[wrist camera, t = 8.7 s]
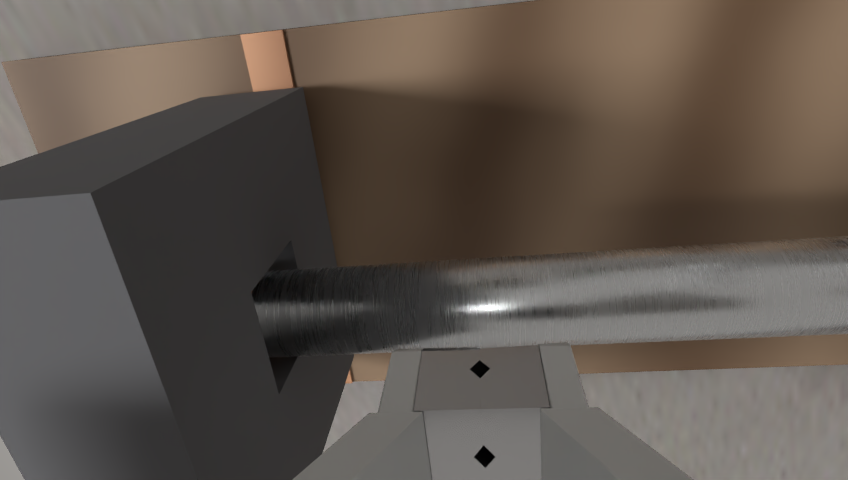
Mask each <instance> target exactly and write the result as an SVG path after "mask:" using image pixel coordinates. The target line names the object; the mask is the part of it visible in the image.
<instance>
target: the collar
mask: <svg viewBox="0 0 848 480" xmlns="http://www.w3.org/2000/svg"><path fill="white" fill-rule="evenodd" d="M327 267H337V262H336V257H335V252H334V246H333V241H332V236H331V231H330V226H329V220H328V215H327V210H326V205H325V199H324V194H323V189H322V184H321V179H320V173H319V168H318V163H317V158H316V152H315V147H314V142H313V137H312V132H311V126H310V121H309V116H308V111H307V105H306V100H305V95H304V90H303V87H298V88H288V89H278V90H268V91H258V92H249V93H239V94H229V95H219V96H209V97H200V98H197V99H195V100H192V101H189V102H186V103H183V104H180V105H177V106H174V107H171V108H169V109H166V110H163V111H160V112H157V113H154V114H151V115H148V116H146V117H143V118H140V119H137V120H134V121H131V122H128V123H125V124H123V125H120V126H117V127H114V128H111V129H108V130H105V131H102V132H100V133H97V134H94V135H91V136H88V137H85V138H82V139H79V140H77V141H74V142H71V143H68V144H65V145H62V146H59V147H56V148H54V149H51V150H48V151H45V152H42V153H39V154H36V155H33V156H31V157H28V158H25V159H22V160H19V161H16V162H13V163H10V164H7V165H5V166H2V167H0V436H1V438H2V439H3V441H4V443H5V445H6V447H7V449H8V450H9V452H10V454H11V456H12V458H13V459H14V461H15V463H16V465H17V467H18V468H19V470H20V472H21V474H22V476H23V477H24V479H25V480H292V479H294V478H295V477H296V476H297V475H298V474H299V473H301V472H302V471H303V470H304V469H305V468H306V467H308V466H309V465H310V464H311V463H312V462H313V461H314V460H316V459H317V458H318V457H319V456H320V455H321V454H322V452H323V449H324V446H325V443H326V440H327V437H328V434H329V431H330V428H331V425H332V422H333V419H334V416H335V413H336V410H337V407H338V404H339V401H340V398H341V395H342V392H343V389H344V385H345V382H346V379H347V376H348V373H349V370H350V367H351V364H352V361H353V358H354V354H344V355H319V356H295V357H270V358H269V356H268V352H267V348H266V345H265V341H264V337H263V334H262V330H261V326H260V323H259V319H258V315H257V311H256V308H255V304H254V300H253V297H252V293H251V292H252V290H253V289H254V288H255V286H256V285H257V284H258V282H259V281H260V280H261V278H262V277H263V276H264V275H265V273H266V272H267V271H277V270H294V269H310V268H327Z"/></svg>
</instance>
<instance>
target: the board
mask: <svg viewBox="0 0 848 480" xmlns="http://www.w3.org/2000/svg"><path fill="white" fill-rule="evenodd" d="M2 65H3V67H4V70H5V72H6V75H7V77H8V80H9V82H10V85H11V87H12V89H13V92H14V94H15V97H16V99H17V102H18V104H19V107H20V109H21V112H22V114H23V117H24V119H25V122H26V124H27V127H28V129H29V131H30V134H31V136H32V139H33V141H34V144H35V146H36V149H37V151H38V154H39V153H42V152H45V151H48V150H51V149H54V148H56V147H59V146H62V145H65V144H68V143H71V142H74V141H77V140H79V139H82V138H85V137H88V136H91V135H94V134H97V133H100V132H102V131H105V130H108V129H111V128H114V127H117V126H120V125H123V124H125V123H128V122H131V121H134V120H137V119H140V118H143V117H146V116H148V115H151V114H154V113H157V112H160V111H163V110H166V109H169V108H171V107H174V106H177V105H180V104H183V103H186V102H189V101H192V100H195V99H197V98H200V97H209V96H219V95H229V94H239V93H249V92H258V91H268V90H278V89H288V88H298V87H303V90H304V95H305V100H306V105H307V111H308V116H309V121H310V126H311V132H312V137H313V142H314V147H315V152H316V158H317V163H318V168H319V173H320V179H321V184H322V189H323V194H324V199H325V205H326V210H327V215H328V220H329V226H330V231H331V236H332V241H333V246H334V252H335V257H336V262H337V267H343V266H360V265H376V264H393V263H410V262H426V261H443V260H459V259H476V258H492V257H509V256H525V255H542V254H558V253H575V252H591V251H608V250H625V249H641V248H658V247H674V246H691V245H707V244H724V243H740V242H757V241H773V240H790V239H806V238H823V237H839V236H848V0H535V1H527V2H518V3H509V4H501V5H492V6H483V7H475V8H466V9H457V10H448V11H440V12H431V13H422V14H414V15H405V16H396V17H388V18H379V19H370V20H361V21H353V22H344V23H335V24H327V25H318V26H309V27H301V28H292V29H283V30H274V31H266V32H257V33H248V34H240V35H231V36H222V37H214V38H205V39H196V40H188V41H179V42H170V43H161V44H153V45H144V46H135V47H127V48H118V49H109V50H101V51H92V52H83V53H74V54H66V55H57V56H48V57H40V58H31V59H23V60H15V61H7V62H2ZM571 348H572V352H573V355H574V359H575V362H576V365H577V369H578V372H579V374H584V373H613V372H642V371H670V370H699V369H728V368H757V367H786V366H814V365H843V364H848V334H834V335H809V336H785V337H760V338H736V339H711V340H687V341H662V342H638V343H613V344H589V345H571ZM391 354H392V353H368V354H354V358H353V361H352V364H351V367H350V370H349V373H348V376H347V379H346V382H345V383H352V382H353V381H382V380H385V379H386V375H387V371H388V366H389V362H390V358H391Z"/></svg>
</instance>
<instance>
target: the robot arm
mask: <svg viewBox="0 0 848 480" xmlns="http://www.w3.org/2000/svg"><path fill="white" fill-rule="evenodd" d="M292 480H693V479H692V478H691V477H689V476H688V475H687V474H685V473H684V472H683V471H681V470H680V469H679V468H677V467H676V466H675V465H674V464H672V463H671V462H670V461H668V460H667V459H666V458H664V457H663V456H662V455H660V454H659V453H658V452H656V451H655V450H654V449H652V448H651V447H650V446H648V445H647V444H646V443H644V442H643V441H642V440H641V439H639V438H638V437H637V436H635V435H634V434H633V433H631V432H630V431H629V430H627V429H626V428H625V427H623V426H622V425H621V424H619V423H618V422H617V421H615V420H614V419H613V418H611V417H610V416H609V415H608V414H606V413H605V412H604V411H602V410H601V409H600V408H598V407H595V408H589V406H588V403H587V400H586V396H585V393H584V389H583V386H582V382H581V379H580V376H579V372H578V369H577V365H576V362H575V359H574V355H573V352H572V348H571V345H570V344H569V343H568V342H561V343H547V344H538V345H526V346H506V347H486V348H480V347H459V348H423V349H421V348H413V349H395V350H394V351H393V352H392V354H391V358H390V362H389V366H388V371H387V375H386V379H385V384H384V388H383V392H382V397H381V401H380V405H379V410H378V413H369V414H368V415H367V416H365V417H364V418H363V419H362V420H361V421H360V422H358V423H357V424H356V425H355V426H354V427H353V428H351V429H350V430H349V431H348V432H347V433H346V434H345V435H343V436H342V437H341V438H340V439H339V440H338V441H336V442H335V443H334V444H333V445H332V446H331V447H330V448H328V449H327V450H326V451H325V452H324V453H323V454H321V455H320V456H319V457H318V458H317V459H316V460H314V461H313V462H312V463H311V464H310V465H309V466H308V467H306V468H305V469H304V470H303V471H302V472H301V473H299V474H298V475H297V476H296V477H295V478H294V479H292Z"/></svg>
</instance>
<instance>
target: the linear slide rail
mask: <svg viewBox="0 0 848 480" xmlns="http://www.w3.org/2000/svg"><path fill="white" fill-rule="evenodd" d="M251 293H252V297H253V300H254V304H255V308H256V311H257V315H258V319H259V323H260V326H261V330H262V334H263V337H264V341H265V345H266V348H267V352H268V356H269V358H270V357H295V356H319V355H344V354H368V353H392V352H393V351H394V350H395V349H413V348H421V349H423V348H459V347H480V348H486V347H506V346H526V345H538V344H547V343H561V342H568V343H569V344H570V345H589V344H613V343H638V342H662V341H687V340H711V339H736V338H760V337H785V336H809V335H834V334H848V236H839V237H823V238H806V239H790V240H773V241H757V242H740V243H724V244H707V245H691V246H674V247H658V248H641V249H625V250H608V251H591V252H575V253H558V254H542V255H525V256H509V257H492V258H476V259H459V260H443V261H426V262H410V263H393V264H376V265H360V266H343V267H327V268H310V269H294V270H277V271H267V272H266V273H265V275H264V276H263V277H262V278H261V280H260V281H259V282H258V284H257V285H256V286H255V288H254V289H253V290H252V292H251Z"/></svg>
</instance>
